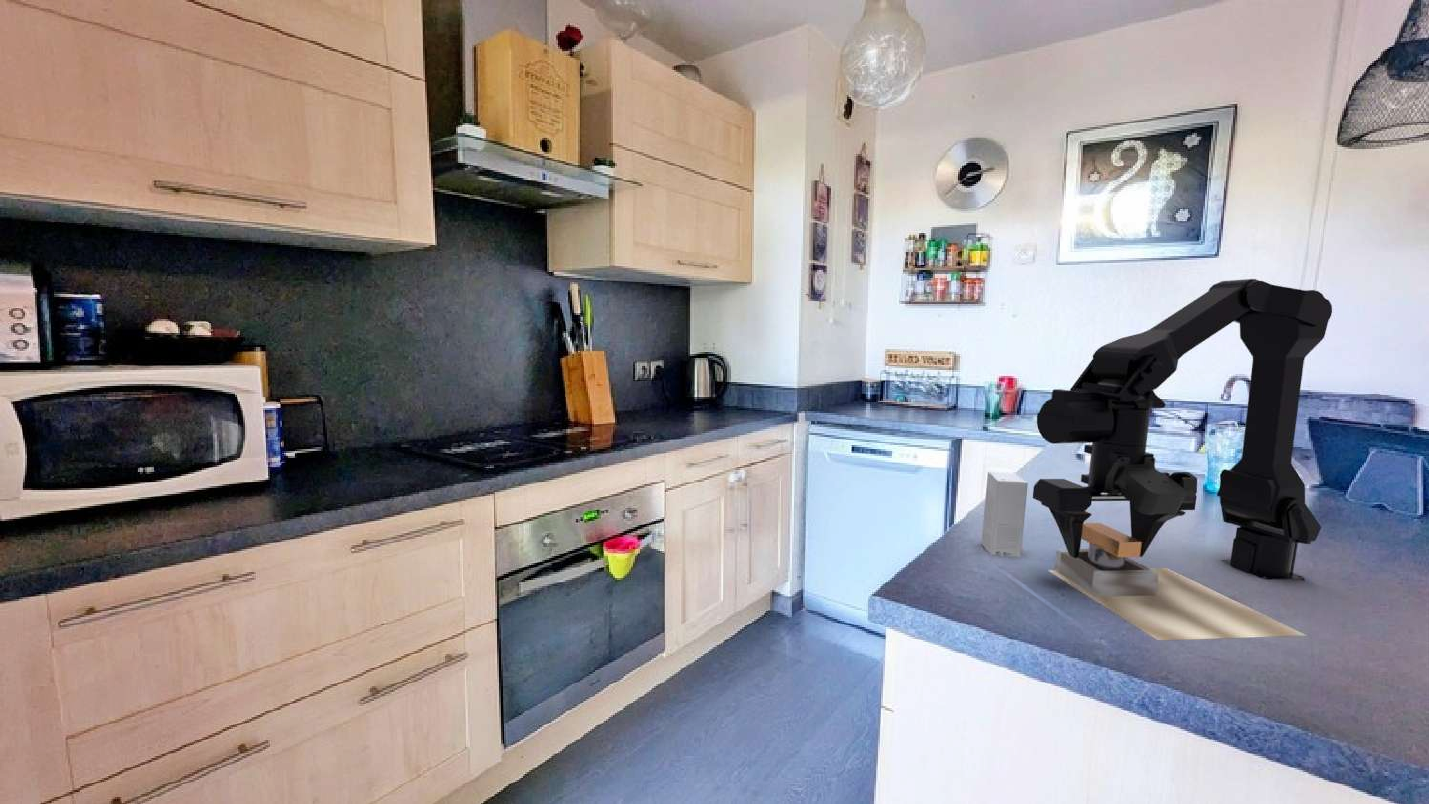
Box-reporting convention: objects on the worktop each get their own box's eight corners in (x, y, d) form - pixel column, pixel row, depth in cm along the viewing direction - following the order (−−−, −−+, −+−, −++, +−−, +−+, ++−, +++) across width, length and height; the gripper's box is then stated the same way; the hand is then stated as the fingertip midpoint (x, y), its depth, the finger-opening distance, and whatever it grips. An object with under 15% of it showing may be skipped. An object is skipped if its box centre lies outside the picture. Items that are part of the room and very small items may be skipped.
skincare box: (1021, 561, 84) (1029, 482, 82) (990, 558, 85) (997, 480, 83) (1009, 546, 90) (1015, 472, 88) (980, 543, 91) (986, 470, 89)
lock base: (1165, 571, 81) (1168, 547, 81) (1305, 640, 64) (1310, 610, 63) (1047, 574, 80) (1049, 549, 79) (1157, 645, 62) (1161, 614, 61)
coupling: (1070, 571, 79) (1076, 523, 78) (1097, 570, 80) (1103, 522, 79) (1109, 594, 72) (1115, 542, 72) (1138, 594, 73) (1145, 541, 72)
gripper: (1098, 455, 65) (1084, 585, 67) (1247, 455, 66) (1229, 582, 69) (1035, 437, 76) (1025, 548, 78) (1164, 437, 77) (1151, 546, 80)
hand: (1105, 556), depth 76 cm, fingers open, 9 cm apart
